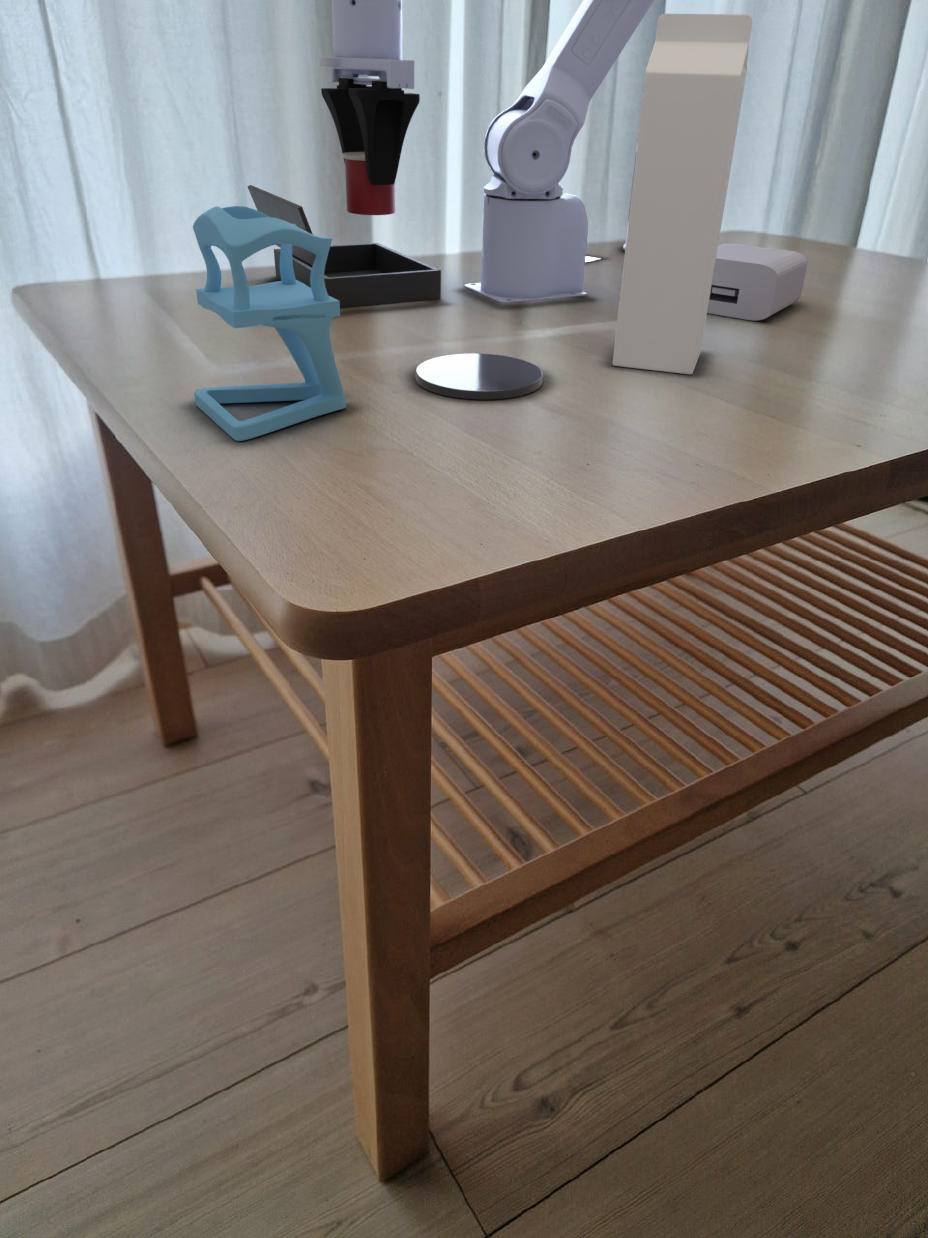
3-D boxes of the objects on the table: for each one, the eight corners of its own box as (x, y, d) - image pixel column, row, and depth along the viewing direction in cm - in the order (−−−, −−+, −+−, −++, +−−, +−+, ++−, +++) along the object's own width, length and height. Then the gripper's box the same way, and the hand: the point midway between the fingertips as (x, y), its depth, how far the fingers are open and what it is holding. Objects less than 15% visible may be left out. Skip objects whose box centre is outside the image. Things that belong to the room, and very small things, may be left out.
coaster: (503, 355, 68) (503, 348, 68) (566, 390, 62) (567, 381, 61) (395, 369, 65) (395, 360, 64) (450, 406, 58) (450, 397, 58)
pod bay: (327, 314, 78) (325, 278, 76) (276, 280, 89) (273, 248, 87) (440, 304, 82) (441, 270, 81) (378, 273, 93) (377, 242, 92)
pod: (385, 206, 83) (385, 151, 81) (407, 214, 80) (407, 156, 77) (336, 208, 81) (333, 151, 79) (355, 216, 78) (353, 157, 75)
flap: (326, 269, 76) (322, 271, 76) (274, 240, 87) (271, 242, 87) (301, 205, 72) (297, 207, 72) (250, 184, 84) (247, 186, 84)
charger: (817, 294, 90) (768, 323, 79) (729, 281, 94) (671, 307, 83) (829, 244, 87) (779, 266, 77) (738, 233, 91) (679, 253, 81)
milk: (624, 346, 72) (663, 15, 60) (701, 354, 70) (756, 16, 58) (611, 366, 67) (650, 10, 55) (693, 375, 65) (751, 11, 53)
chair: (364, 419, 56) (356, 209, 49) (235, 442, 52) (209, 218, 45) (313, 385, 61) (300, 192, 55) (193, 403, 57) (165, 199, 51)
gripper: (291, -6, 76) (301, 171, 83) (352, -14, 65) (357, 191, 72) (368, -1, 79) (372, 170, 86) (439, -8, 68) (436, 189, 75)
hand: (370, 180), depth 79 cm, fingers closed on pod, 5 cm apart
